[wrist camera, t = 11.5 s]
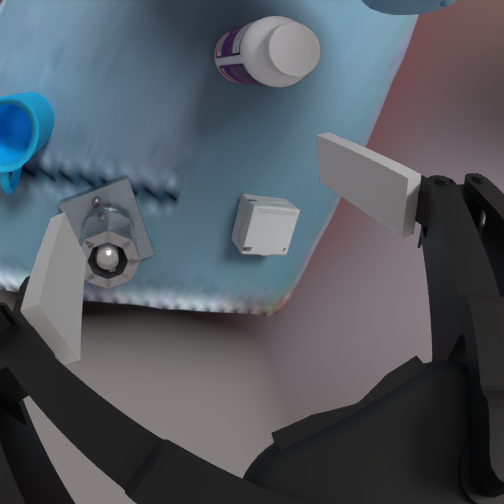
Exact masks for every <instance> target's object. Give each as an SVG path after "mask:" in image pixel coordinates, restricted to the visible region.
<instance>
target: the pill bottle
mask: <svg viewBox="0 0 504 504" xmlns="http://www.w3.org/2000/svg"><path fill="white" fill-rule="evenodd" d="M320 53H321V50H320V44H319V41H318V39H317V37H316V35H315V34H314V33H313V32H312V31H311V30H310V29H309V28H308V27H306V26H304V25H302V24H299V23H297V22H296V21H294V20H292V19H290V18H287V17H283V16H269V17H265V18H262V19H259V20H256V21H254V22H251V23H248V24H246V25H243V26H240V27H238V28H235V29H233V30H231V31H229V32H227V33H226V34H224V35H223V36H222V37H221V38H220V40H219V41H218V43H217V45H216V48H215V54H214V57H215V63H216V66H217V68H218V70H219V71H220V73H221V74H222V75H223V76H224V77H225V78H226V79H228V80H230V81H232V82H234V83H238V84H244V85H259V86H270V87H286V86H290V85H292V84H295V83H297V82H298V81H300V80H301V79H302V78H304V76H305V75H306V74H308V73H310V72H311V71H312V70H313V69H314V68H315V67H316V66H317V64H318V62H319V59H320Z"/></svg>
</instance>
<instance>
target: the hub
mask: <svg viewBox="0 0 504 504" xmlns="http://www.w3.org/2000/svg"><path fill="white" fill-rule="evenodd" d="M107 242H109V243H112V244H114V245H117V246H119V247H121V249H120V250H118V264H117V265H116V271H113V272H109V270H106V269H103V268H101V267H100V266H99V265H98V263H97V250H96V249H95V248H94V247H96V246H99V245H101V244H104V243H107ZM79 244H80V246H81V248H82V250H83V252H84V254H85V256H86V258H87V259H86V268H85V280H86V281H87V282H89V283H92V284H95V285H98V286H101V287H104V288H107V289H110V288H113V287H115V286H118V285H121V284H124V283H126V282H129V281H131V279H132V277H133V275H134V273H135V271H136V269H137V267H138V265H139V263H140V256H139V251H138V244H137V238H136V235H135V233H134V230H133V227H132V225H131V222H130V219H129V218H127V217H125V216H122V215H120V214H118V213H115V212H113V211H111V210H107V211H104V212H101V213H99V214H96V215H93V216H91V217H88V218H87V221H86V223H85V225H84V228H83V230H82V232H81V235H80V237H79Z"/></svg>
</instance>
